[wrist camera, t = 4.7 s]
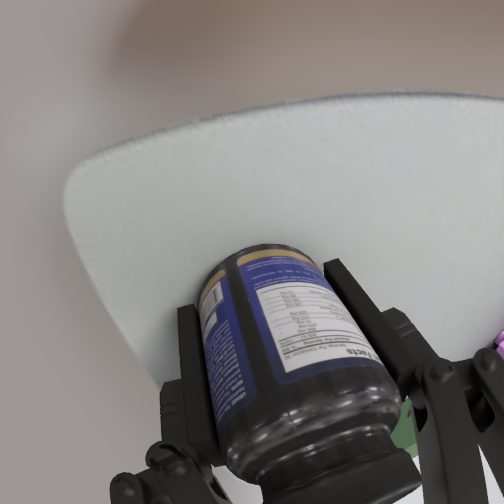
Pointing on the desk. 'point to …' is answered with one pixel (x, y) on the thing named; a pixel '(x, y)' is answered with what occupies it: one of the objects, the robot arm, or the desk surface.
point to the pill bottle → (298, 385)
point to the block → (405, 432)
